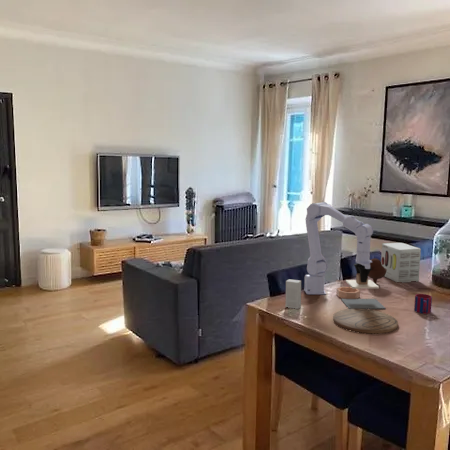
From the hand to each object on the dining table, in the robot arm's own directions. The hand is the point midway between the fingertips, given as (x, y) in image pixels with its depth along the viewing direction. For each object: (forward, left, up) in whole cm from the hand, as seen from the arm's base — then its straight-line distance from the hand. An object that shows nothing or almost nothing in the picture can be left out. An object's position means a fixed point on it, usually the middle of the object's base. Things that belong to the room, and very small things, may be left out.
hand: (361, 280), depth 209 cm
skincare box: (-32, -5, -11) cm, 34 cm away
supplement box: (+34, +44, -11) cm, 57 cm away
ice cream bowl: (+15, +27, -11) cm, 33 cm away
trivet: (-6, -24, -11) cm, 27 cm away
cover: (0, 0, -2) cm, 2 cm away
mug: (+23, -12, -11) cm, 28 cm away
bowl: (-3, +11, -11) cm, 16 cm away
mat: (0, -2, -11) cm, 11 cm away
